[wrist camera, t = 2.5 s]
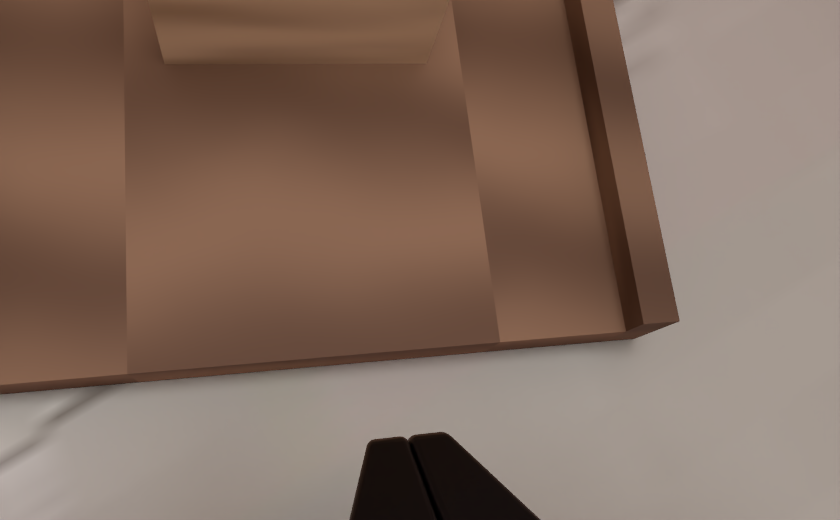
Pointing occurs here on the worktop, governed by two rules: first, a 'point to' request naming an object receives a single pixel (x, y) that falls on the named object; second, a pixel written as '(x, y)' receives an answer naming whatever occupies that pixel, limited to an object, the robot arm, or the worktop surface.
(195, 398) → the worktop surface
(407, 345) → the brown wooden tray
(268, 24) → the step block
